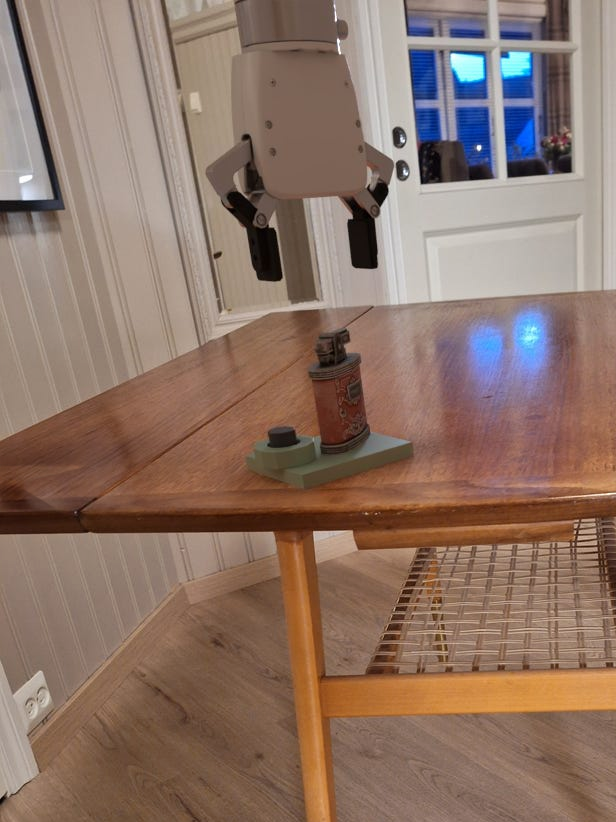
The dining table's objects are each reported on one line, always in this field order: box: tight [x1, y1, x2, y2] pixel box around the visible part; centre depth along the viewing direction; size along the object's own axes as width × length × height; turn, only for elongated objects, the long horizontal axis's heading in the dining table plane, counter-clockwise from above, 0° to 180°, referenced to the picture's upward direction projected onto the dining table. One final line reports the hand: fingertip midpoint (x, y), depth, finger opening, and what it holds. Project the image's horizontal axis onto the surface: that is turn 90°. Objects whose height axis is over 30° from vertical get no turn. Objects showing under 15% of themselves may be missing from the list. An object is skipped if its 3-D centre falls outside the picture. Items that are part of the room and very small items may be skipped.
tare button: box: [267, 425, 298, 448], centre depth 77 cm, size 2×2×2 cm
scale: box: [244, 431, 414, 490], centre depth 80 cm, size 13×10×3 cm
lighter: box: [307, 327, 371, 456], centre depth 79 cm, size 8×3×10 cm, turn 167°
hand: (319, 274), depth 75 cm, fingers open, 9 cm apart
